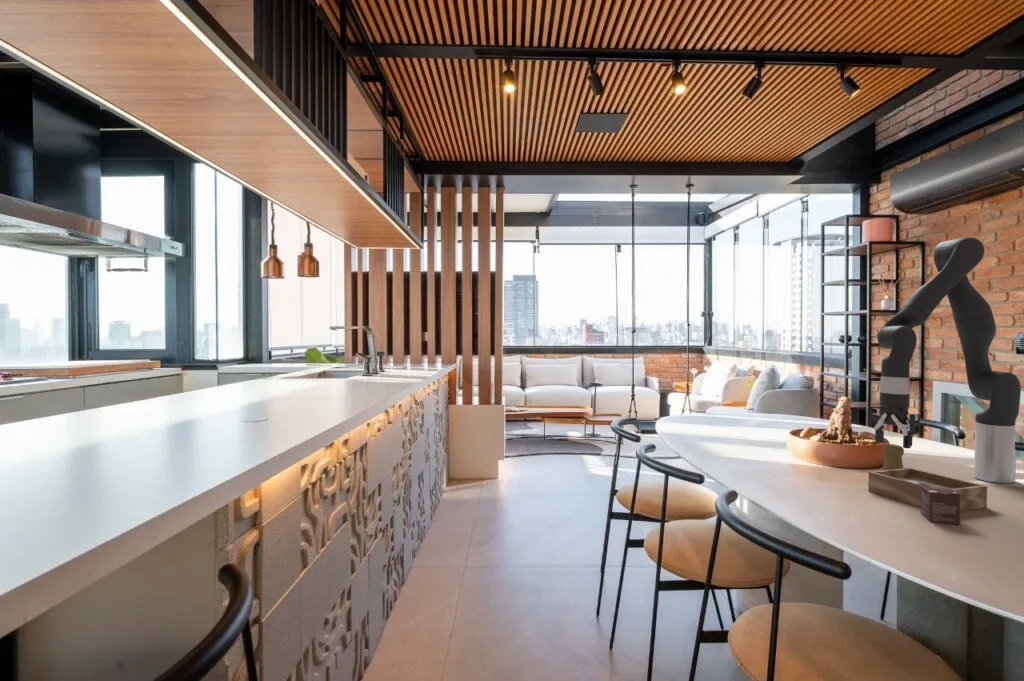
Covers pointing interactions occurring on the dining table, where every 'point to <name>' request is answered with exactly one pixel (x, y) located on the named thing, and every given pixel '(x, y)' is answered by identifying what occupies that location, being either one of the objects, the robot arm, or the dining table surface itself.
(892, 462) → the cork
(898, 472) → the wooden tray
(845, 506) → the dining table surface
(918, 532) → the dining table surface
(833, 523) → the dining table surface
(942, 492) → the box
